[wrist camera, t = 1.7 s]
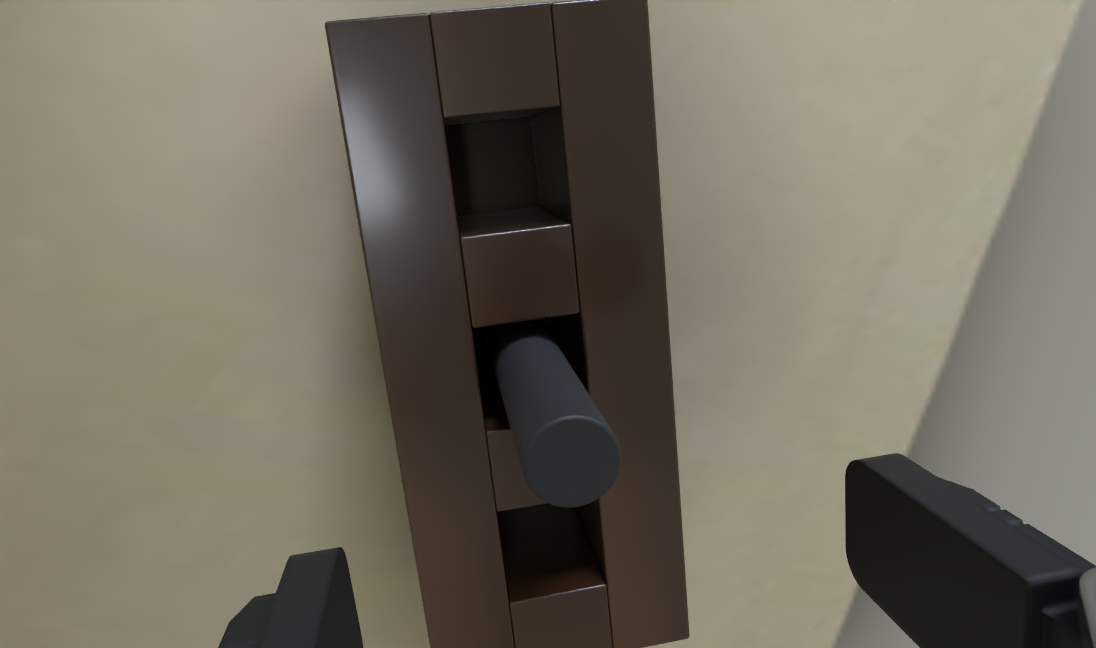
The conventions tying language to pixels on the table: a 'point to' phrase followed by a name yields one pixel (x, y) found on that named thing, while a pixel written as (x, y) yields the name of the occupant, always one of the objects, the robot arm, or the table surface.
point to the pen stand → (520, 313)
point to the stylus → (552, 417)
